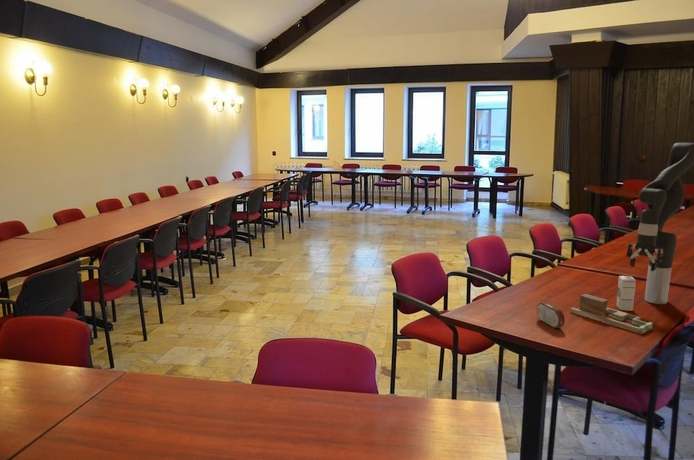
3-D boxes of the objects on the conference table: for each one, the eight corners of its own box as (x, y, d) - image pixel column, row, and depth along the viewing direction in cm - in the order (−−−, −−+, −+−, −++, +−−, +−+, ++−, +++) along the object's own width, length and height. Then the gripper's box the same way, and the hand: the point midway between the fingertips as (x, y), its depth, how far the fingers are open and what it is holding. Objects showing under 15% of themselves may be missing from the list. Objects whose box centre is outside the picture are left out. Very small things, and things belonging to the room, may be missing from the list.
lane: (586, 306, 241) (587, 300, 240) (657, 326, 217) (657, 320, 217) (570, 312, 233) (570, 307, 232) (641, 334, 209) (642, 328, 208)
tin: (564, 330, 212) (566, 310, 210) (557, 331, 211) (559, 311, 210) (540, 317, 226) (542, 299, 225) (534, 318, 225) (536, 299, 224)
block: (583, 311, 235) (585, 293, 233) (605, 317, 227) (607, 299, 225) (578, 312, 232) (580, 295, 231) (601, 319, 224) (603, 301, 223)
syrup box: (633, 311, 235) (636, 279, 232) (618, 310, 236) (622, 278, 233) (629, 306, 240) (632, 276, 237) (615, 305, 242) (618, 275, 239)
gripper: (668, 235, 231) (662, 271, 233) (634, 230, 242) (630, 264, 245) (660, 236, 226) (655, 273, 229) (627, 231, 237) (622, 266, 240)
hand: (642, 268), depth 237 cm, fingers open, 8 cm apart
